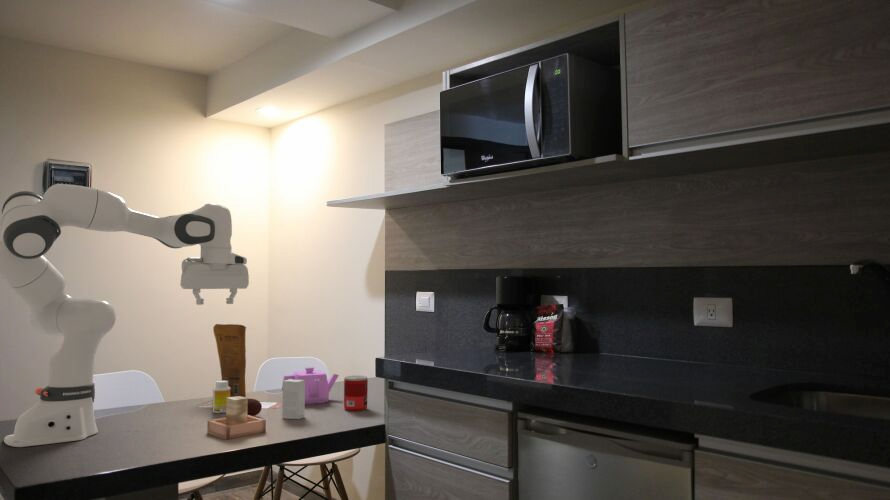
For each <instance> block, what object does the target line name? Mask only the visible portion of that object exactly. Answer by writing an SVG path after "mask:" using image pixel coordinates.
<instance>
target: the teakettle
mask: <svg viewBox="0 0 890 500" xmlns="http://www.w3.org/2000/svg"><path fill="white" fill-rule="evenodd" d="M304 369H305V370H297V371H293V373H292V374H290V375H283V377H282V378H283V379H282V382H283V381H285V380H289V379H290V380H305V405H315V403H318V404H325V403H324V402H327V403H328V402H329V398H330V397H329V396H330V391H331V389H332V388H333V387H334V385H335V382H336V381H337V379H338V378H339V374H336V373H333V374H332V375H331V377H330V378H329V379H328V377H327V374H326V372H325V371H322V370H319V369H316V370H315V367H314V366H309V367H308V366H307V367H305V368H304ZM281 384H282V385H281V391H282V392H283V383H281Z"/></svg>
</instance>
